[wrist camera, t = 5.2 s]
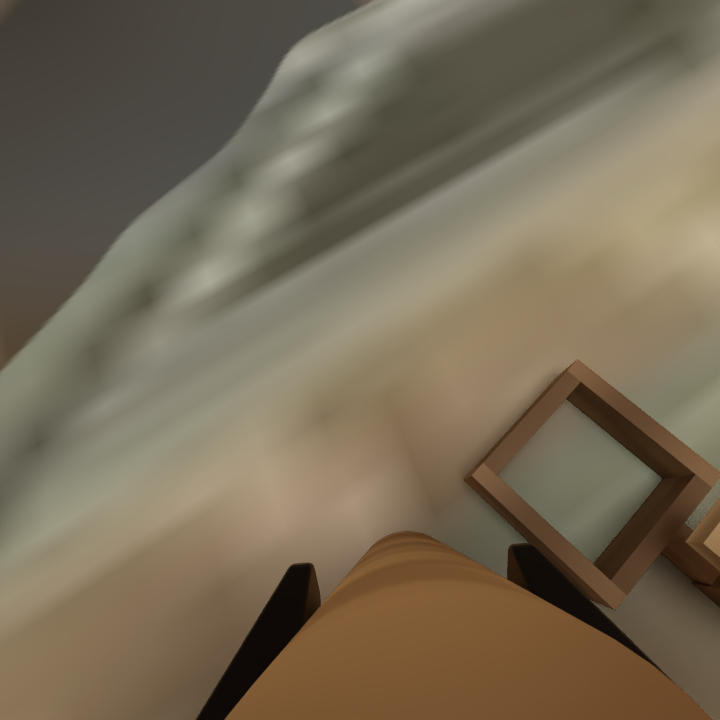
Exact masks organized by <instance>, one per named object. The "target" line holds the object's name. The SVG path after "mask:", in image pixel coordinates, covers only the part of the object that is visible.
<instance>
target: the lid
mask: <svg viewBox="0 0 720 720" xmlns="http://www.w3.org/2000/svg"><path fill="white" fill-rule="evenodd" d="M685 542H686V543H687V544H689V545H690V546H691V547H692V548H693V549H694V550H696V551H697V552H698V553H699V554H700V555H701V556H703V557H704V558H705V559H706V560H707V561H708V562H710V563H711V564H712V565H713V566H714V567H715V568H717V569H718V570H719V571H720V498H719V499H718V500H717V502H716V503H715V504H714V506H713V507H712V508H711V509H710V511H709V512H708V513H707V515H706V516H705V517H704V518H703V520H702V521H701V522H700V524H699V525H698V526H697V527H696V529H695V530H694V531H693V533H692V534H691V535H690V536H689V538H688V539H687V540H686V541H685Z"/></svg>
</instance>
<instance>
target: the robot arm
mask: <svg viewBox="0 0 720 720" xmlns="http://www.w3.org/2000/svg"><path fill="white" fill-rule="evenodd" d="M507 578H508V580H509V581H511V582H513V583H514V584H516V585H518V586H520V587H522V588H523V589H525V590H527V591H529V592H531V593H532V594H534V595H536V596H538V597H540V598H541V599H543V600H545V601H547V602H548V603H550V604H552V605H554V606H556V607H557V608H559V609H561V610H563V611H565V612H566V613H568V614H570V615H572V616H574V617H575V618H577V619H579V620H581V621H583V622H584V623H586V624H588V625H590V626H592V627H593V628H595V629H597V630H599V631H601V632H602V633H604V634H606V635H608V636H610V637H611V638H613V639H615V640H616V641H618V642H619V643H621V644H622V645H624V646H625V647H627V648H628V649H630V650H631V651H633V652H634V653H636V654H637V655H639V656H640V657H642V658H643V659H644V660H646V661H647V662H649V663H650V664H652V665H653V666H655V667H656V668H657V669H658V670H659V671H660V672H662V673H663V674H664V675H665V676H666V677H667V678H669V677H668V676H667V675H666V674H665V673H664V672H663V671H662V670H661V669H660V668H659V667H658V666H657V665H656V664H655V663H654V662H653V661H652V660H651V659H649V658H648V657H647V656H646V655H645V654H644V653H643V652H642V651H641V650H640V649H639V648H638V647H637V646H636V645H635V644H634V643H633V642H632V641H631V640H630V639H629V638H628V637H627V636H626V635H625V634H624V633H623V632H622V631H621V630H620V629H619V628H618V627H617V626H616V625H615V624H614V623H613V622H612V621H611V620H610V619H609V618H608V617H607V616H606V615H605V614H604V613H603V612H602V611H601V610H600V609H599V608H598V607H597V606H595V605H594V604H593V603H592V602H591V601H590V600H589V599H588V598H587V597H586V596H585V595H584V594H583V593H582V592H581V591H580V590H579V589H578V588H577V587H576V586H575V585H574V584H573V583H572V582H571V581H570V580H569V579H568V578H567V577H566V576H565V575H564V574H563V573H562V572H561V571H560V570H559V569H558V568H557V567H556V566H555V565H554V564H553V563H552V562H551V561H550V560H549V559H548V558H547V557H546V556H545V555H544V554H542V553H541V552H540V551H539V550H538V549H537V548H536V547H535V546H534V545H533V544H531V543H521V544H512V545H510V546H509V549H508V568H507ZM320 606H321V601H320V591H319V586H318V582H317V578H316V573H315V569H314V566H313V564H312V563H298V564H293V565H291V566H290V567H289V568H288V570H287V572H286V573H285V575H284V577H283V578H282V580H281V581H280V583H279V585H278V586H277V588H276V590H275V591H274V593H273V594H272V596H271V598H270V599H269V601H268V603H267V604H266V606H265V608H264V609H263V611H262V612H261V614H260V616H259V617H258V619H257V621H256V622H255V624H254V626H253V627H252V629H251V630H250V632H249V634H248V635H247V637H246V639H245V640H244V642H243V644H242V645H241V647H240V648H239V650H238V652H237V653H236V655H235V657H234V658H233V660H232V661H231V663H230V665H229V666H228V668H227V670H226V671H225V673H224V675H223V676H222V678H221V679H220V681H219V683H218V684H217V686H216V688H215V689H214V691H213V693H212V694H211V696H210V697H209V699H208V701H207V702H206V704H205V706H204V707H203V709H202V711H201V712H200V714H199V715H198V717H197V719H196V720H224V719H225V718H226V717H227V716H228V715H229V713H230V712H231V711H232V710H233V708H234V707H235V706H236V705H237V704H238V702H239V701H240V700H241V699H242V697H243V696H244V695H245V694H246V692H247V691H248V690H249V689H250V688H251V686H252V685H253V684H254V683H255V682H256V681H257V679H258V678H259V677H260V676H261V675H262V674H263V672H264V671H265V670H266V669H267V668H268V667H269V665H270V664H271V663H272V662H273V661H274V660H275V658H276V657H277V656H278V655H279V654H280V653H281V651H282V650H283V649H284V648H285V647H286V646H287V644H288V643H289V642H290V641H291V640H292V639H293V637H294V636H295V635H296V634H297V633H298V632H299V630H300V629H301V628H302V627H303V626H304V625H305V624H306V622H307V621H308V620H309V619H310V618H311V617H312V615H313V614H314V613H315V612H316V611H317V610H318V608H319V607H320ZM669 679H670V678H669ZM670 680H671V679H670ZM671 681H672V680H671ZM672 682H673V681H672ZM673 683H674V682H673ZM674 684H675V683H674Z"/></svg>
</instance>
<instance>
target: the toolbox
mask: <svg viewBox="0 0 720 720" xmlns="http://www.w3.org/2000/svg"><path fill="white" fill-rule="evenodd" d="M566 398H567V399H568V400H569V401H570V402H571V403H573V404H574V405H575V406H576V407H577V408H579V409H580V410H581V411H582V412H583V413H585V414H586V415H587V416H588V417H590V418H591V419H592V420H593V421H594V422H596V423H597V424H598V425H599V426H600V427H602V428H603V429H604V430H605V431H606V432H608V433H609V434H610V435H611V436H613V437H614V438H615V439H616V440H617V441H619V442H620V443H621V444H622V445H623V446H625V447H626V448H627V449H628V450H629V451H631V452H632V453H633V454H634V455H636V456H637V457H638V458H639V459H640V460H642V461H643V462H644V463H645V464H646V465H648V466H649V467H650V468H651V469H652V470H654V471H655V472H656V473H657V474H659V475H660V476H661V477H662V478H663V480H662V481H661V483H660V484H659V485H658V486H657V487H656V489H655V490H654V491H653V492H652V494H651V495H650V496H649V497H648V498H647V500H646V501H645V502H644V503H643V505H642V506H641V507H640V508H639V509H638V511H637V512H636V513H635V514H634V516H633V517H632V518H631V519H630V521H629V522H628V523H627V524H626V525H625V527H624V528H623V529H622V530H621V532H620V533H619V534H618V535H617V536H616V538H615V539H614V540H613V541H612V543H611V544H610V545H609V546H608V547H607V549H606V550H605V551H604V552H603V554H602V555H601V556H600V557H599V559H598V560H597V561H596V562H595V563H594V565H593V564H592V563H591V562H590V561H589V560H588V559H587V558H586V557H585V556H584V555H582V554H581V553H580V552H579V551H578V550H577V549H576V548H575V547H574V546H573V545H572V544H571V543H569V542H568V541H567V540H566V539H565V538H564V537H563V536H562V535H561V534H560V533H559V532H558V531H556V530H555V529H554V528H553V527H552V526H551V525H550V524H549V523H548V522H547V521H546V520H545V519H543V518H542V517H541V516H540V515H539V514H538V513H537V512H536V511H535V510H534V509H533V508H532V507H530V506H529V505H528V504H527V503H526V502H525V501H524V500H523V499H522V498H521V497H520V496H519V495H517V494H516V493H515V492H514V491H513V490H512V489H511V488H510V487H509V486H508V485H507V484H506V483H504V482H503V481H502V480H501V479H500V478H499V477H498V476H497V475H498V473H499V472H500V471H501V470H502V469H503V468H504V467H505V466H506V465H507V463H508V462H509V461H510V460H511V459H512V458H513V457H514V456H515V455H516V453H517V452H518V451H519V450H520V449H521V448H522V447H523V446H524V445H525V443H526V442H527V441H528V440H529V439H530V438H531V437H532V436H533V435H534V433H535V432H536V431H537V430H538V429H539V428H540V427H541V426H542V425H543V423H544V422H545V421H546V420H547V419H548V418H549V417H550V416H551V414H552V413H553V412H554V411H555V410H556V409H557V408H558V407H559V406H560V404H561V403H562V402H563V401H564V400H565V399H566ZM719 478H720V472H719V471H718V470H717V469H715V468H714V467H713V466H712V465H710V464H709V463H708V462H707V461H705V460H704V459H703V458H702V457H700V456H699V455H698V454H697V453H695V452H694V451H693V450H691V449H690V448H689V447H688V446H686V445H685V444H684V443H683V442H681V441H680V440H679V439H678V438H676V437H675V436H674V435H673V434H671V433H670V432H669V431H668V430H666V429H665V428H664V427H662V426H661V425H660V424H659V423H657V422H656V421H655V420H654V419H652V418H651V417H650V416H649V415H647V414H646V413H645V412H644V411H642V410H641V409H640V408H639V407H637V406H636V405H635V404H633V403H632V402H631V401H630V400H628V399H627V398H626V397H625V396H623V395H622V394H621V393H620V392H618V391H617V390H616V389H615V388H613V387H612V386H611V385H610V384H608V383H607V382H606V381H604V380H603V379H602V378H601V377H599V376H598V375H597V374H596V373H594V372H593V371H592V370H591V369H589V368H588V367H587V366H586V365H584V364H583V363H582V362H581V361H579V360H578V359H577V360H576V361H575V362H574V363H573V364H571V365H570V366H569V367H568V368H567V369H566V370H564V371H563V372H562V373H561V374H560V375H559V376H558V377H557V378H556V379H555V380H554V381H553V382H552V384H551V385H550V386H549V387H548V388H547V389H546V390H545V391H544V392H543V393H542V394H541V396H540V397H539V398H538V399H537V400H536V401H535V402H534V403H533V404H532V405H531V406H530V408H529V409H528V410H527V411H526V412H525V413H524V414H523V415H522V416H521V417H520V419H519V420H518V421H517V422H516V423H515V424H514V425H513V426H512V427H511V428H510V429H509V431H508V432H507V433H506V434H505V435H504V436H503V437H502V438H501V439H500V440H499V441H498V443H497V444H496V445H495V446H494V447H493V448H492V449H491V450H490V451H489V452H488V454H487V455H486V456H485V457H484V458H483V459H482V460H481V461H480V462H479V463H478V464H477V466H476V467H475V468H474V469H473V470H472V471H471V472H470V473H469V474H468V475H467V477H466V478H465V479H464V480H465V481H466V482H467V483H468V484H469V485H470V486H471V487H472V488H473V489H474V490H475V491H476V492H477V493H478V494H479V495H480V496H481V497H482V498H484V499H485V500H486V501H487V502H488V503H489V504H490V505H491V506H492V507H493V508H494V509H495V510H496V511H497V512H498V513H499V514H500V515H501V516H502V517H504V518H505V519H506V520H507V521H508V522H509V523H510V524H511V525H512V526H513V527H514V528H515V529H516V530H517V531H518V532H519V533H520V534H521V535H523V536H524V537H525V538H526V539H527V540H528V541H529V542H530V543H531V544H533V545H534V546H535V547H536V548H537V549H538V550H539V551H540V552H541V553H542V554H544V555H545V556H546V557H547V558H548V559H549V560H550V561H551V562H552V563H553V564H554V565H555V566H556V567H557V568H558V569H559V570H560V571H561V572H562V573H563V574H564V575H565V576H566V577H567V578H568V579H569V580H570V581H571V582H572V583H573V584H574V585H575V586H576V587H577V588H578V589H579V590H581V591H582V592H583V593H584V594H585V595H586V596H587V597H588V598H589V599H590V600H592V601H594V602H597V603H599V604H601V605H604V606H606V607H608V608H611V609H613V610H616V609H617V607H618V606H619V605H620V604H621V602H622V601H623V600H624V599H625V597H626V596H627V595H628V594H629V592H630V591H631V590H632V588H633V587H634V586H635V585H636V583H637V582H638V581H639V580H640V578H641V577H642V576H643V574H644V573H645V572H646V571H647V569H648V568H649V567H650V566H651V564H652V563H653V562H654V561H655V559H656V558H657V557H658V555H659V554H660V553H661V552H662V553H663V554H664V555H665V556H666V557H667V558H668V559H670V560H671V561H672V562H673V563H674V564H675V565H676V566H678V567H679V568H680V569H681V570H682V571H683V572H684V573H686V574H687V575H688V576H689V577H690V578H691V579H692V580H694V581H693V582H692V583H693V584H694V585H695V586H696V587H697V588H699V589H700V590H701V591H702V592H703V593H704V594H705V595H706V596H708V597H709V598H710V599H711V600H712V601H713V602H714V603H716V604H717V605H718V606H719V607H720V571H719V570H718V569H717V568H715V567H714V566H713V565H712V564H711V563H710V562H708V561H707V560H706V559H705V558H704V557H703V556H701V555H700V554H699V553H698V552H697V551H696V550H694V549H693V548H692V547H691V546H690V545H689V544H687V543H686V542H685V541H686V540H687V539H688V538H689V536H690V535H691V534H692V533H693V531H692V530H691V529H690V528H689V527H688V526H687V525H685V524H684V522H685V521H686V520H687V519H688V517H689V516H690V515H691V514H692V512H693V511H694V510H695V509H696V507H697V506H698V505H699V503H700V502H701V501H702V500H703V498H704V497H705V496H706V495H707V493H708V492H709V491H710V489H711V488H712V487H713V486H714V484H715V483H716V482H717V481H718V479H719Z"/></svg>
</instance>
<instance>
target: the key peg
mask: <svg viewBox="0 0 720 720" xmlns="http://www.w3.org/2000/svg"><path fill="white" fill-rule="evenodd" d="M224 720H712V719H711V718H710V717H709V716H708V715H707V714H706V713H705V712H704V711H703V710H702V709H701V708H700V707H699V705H698V704H697V703H696V702H695V701H694V700H693V699H692V698H691V697H690V696H689V695H687V694H686V693H685V692H684V691H683V690H682V689H680V688H679V687H678V686H677V685H676V684H674V683H673V682H672V681H671V680H670V679H669V678H667V677H666V676H665V675H664V674H663V673H662V672H660V671H659V670H658V669H657V668H656V667H655V666H653V665H652V664H650V663H649V662H647V661H646V660H644V659H643V658H642V657H640V656H639V655H637V654H636V653H634V652H633V651H631V650H630V649H628V648H627V647H625V646H624V645H622V644H621V643H619V642H618V641H616V640H615V639H613V638H611V637H610V636H608V635H606V634H604V633H602V632H601V631H599V630H597V629H595V628H593V627H592V626H590V625H588V624H586V623H584V622H583V621H581V620H579V619H577V618H575V617H574V616H572V615H570V614H568V613H566V612H565V611H563V610H561V609H559V608H557V607H556V606H554V605H552V604H550V603H548V602H547V601H545V600H543V599H541V598H540V597H538V596H536V595H534V594H532V593H531V592H529V591H527V590H525V589H523V588H522V587H520V586H518V585H516V584H514V583H513V582H511V581H509V580H507V579H505V578H504V577H502V576H500V575H498V574H496V573H495V572H493V571H491V570H489V569H487V568H486V567H484V566H482V565H480V564H478V563H477V562H475V561H473V560H471V559H469V558H468V557H466V556H464V555H462V554H461V553H459V552H457V551H455V550H453V549H452V548H450V547H448V546H446V545H444V544H443V543H441V542H439V541H437V540H435V539H433V538H432V537H430V536H427V535H425V534H422V533H417V532H408V531H407V532H398V533H394V534H391V535H388V536H386V537H384V538H382V539H381V540H379V541H378V542H376V543H375V544H374V545H373V546H372V547H371V548H370V549H369V550H368V551H367V553H366V554H365V555H364V556H363V557H362V558H361V560H360V561H359V562H358V563H357V564H356V565H355V566H354V568H353V569H352V570H351V571H350V572H349V573H348V575H347V576H346V577H345V578H344V579H343V580H342V582H341V583H340V584H339V585H338V586H337V587H336V589H335V590H334V591H333V592H332V593H331V594H330V596H329V597H328V598H327V599H326V600H325V601H324V603H323V604H322V605H321V606H320V607H319V608H318V610H317V611H316V612H315V613H314V614H313V615H312V617H311V618H310V619H309V620H308V621H307V622H306V624H305V625H304V626H303V627H302V628H301V629H300V630H299V632H298V633H297V634H296V635H295V636H294V637H293V639H292V640H291V641H290V642H289V643H288V644H287V646H286V647H285V648H284V649H283V650H282V651H281V653H280V654H279V655H278V656H277V657H276V658H275V660H274V661H273V662H272V663H271V664H270V665H269V667H268V668H267V669H266V670H265V671H264V672H263V674H262V675H261V676H260V677H259V678H258V679H257V681H256V682H255V683H254V684H253V685H252V686H251V688H250V689H249V690H248V691H247V692H246V694H245V695H244V696H243V697H242V699H241V700H240V701H239V702H238V704H237V705H236V706H235V707H234V708H233V710H232V711H231V712H230V713H229V715H228V716H227V717H226V718H225V719H224Z"/></svg>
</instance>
